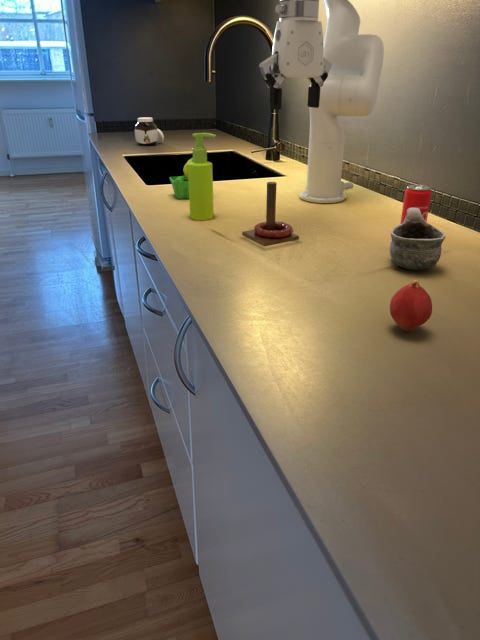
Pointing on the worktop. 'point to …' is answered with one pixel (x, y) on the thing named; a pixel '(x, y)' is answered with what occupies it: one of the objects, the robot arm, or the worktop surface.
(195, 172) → the soap dispenser
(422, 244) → the grey stoneware bowl
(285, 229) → the ring
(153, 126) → the spread jar
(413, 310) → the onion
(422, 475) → the worktop surface
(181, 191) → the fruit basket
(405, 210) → the beverage can
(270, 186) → the stand
